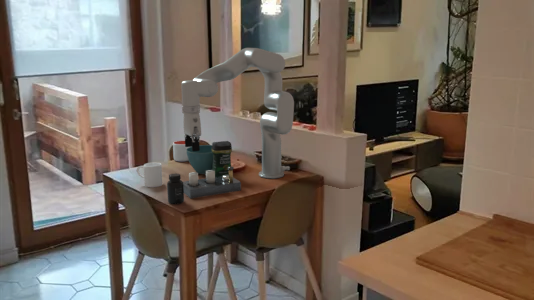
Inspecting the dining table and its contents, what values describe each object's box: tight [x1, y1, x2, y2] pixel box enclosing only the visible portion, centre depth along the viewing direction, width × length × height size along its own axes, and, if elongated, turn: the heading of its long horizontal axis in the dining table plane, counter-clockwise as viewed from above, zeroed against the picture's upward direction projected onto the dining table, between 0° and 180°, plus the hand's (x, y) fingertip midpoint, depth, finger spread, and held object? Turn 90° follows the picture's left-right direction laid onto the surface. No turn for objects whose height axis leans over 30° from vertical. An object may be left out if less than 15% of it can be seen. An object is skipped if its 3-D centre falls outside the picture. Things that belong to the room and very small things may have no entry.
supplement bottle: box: [166, 172, 185, 205], centre depth 220 cm, size 7×7×12 cm
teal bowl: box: [186, 144, 213, 175], centre depth 266 cm, size 18×18×12 cm
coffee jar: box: [211, 140, 233, 177], centre depth 253 cm, size 10×8×19 cm
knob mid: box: [205, 170, 215, 183], centre depth 236 cm, size 4×4×5 cm
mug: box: [136, 161, 163, 188], centre depth 245 cm, size 8×12×10 cm
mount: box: [183, 175, 242, 199], centre depth 236 cm, size 24×13×6 cm, turn 118°
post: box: [228, 165, 234, 183], centre depth 235 cm, size 3×3×7 cm
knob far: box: [188, 171, 199, 186], centre depth 232 cm, size 4×4×5 cm
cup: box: [172, 140, 189, 163], centre depth 290 cm, size 10×10×10 cm
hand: (192, 148), depth 229 cm, fingers open, 8 cm apart
